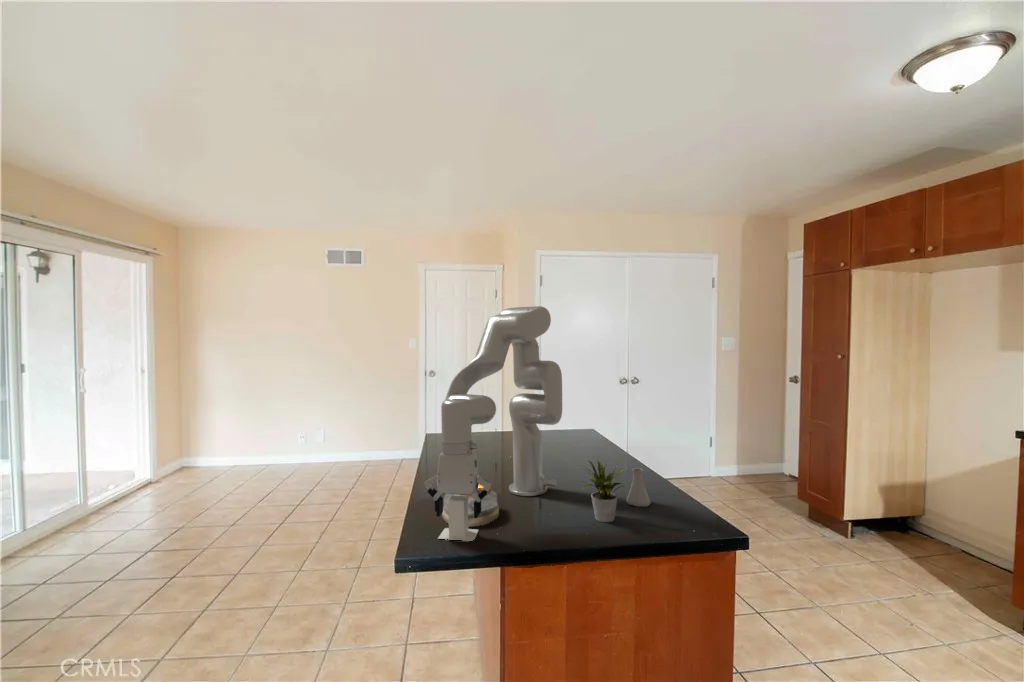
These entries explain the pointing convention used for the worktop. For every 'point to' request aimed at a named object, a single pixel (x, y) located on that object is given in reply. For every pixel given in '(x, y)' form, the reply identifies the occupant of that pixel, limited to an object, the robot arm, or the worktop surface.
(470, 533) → the mat
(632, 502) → the flask
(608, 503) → the house plant
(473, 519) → the base
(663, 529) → the worktop surface
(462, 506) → the white rectangular block
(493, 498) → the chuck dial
